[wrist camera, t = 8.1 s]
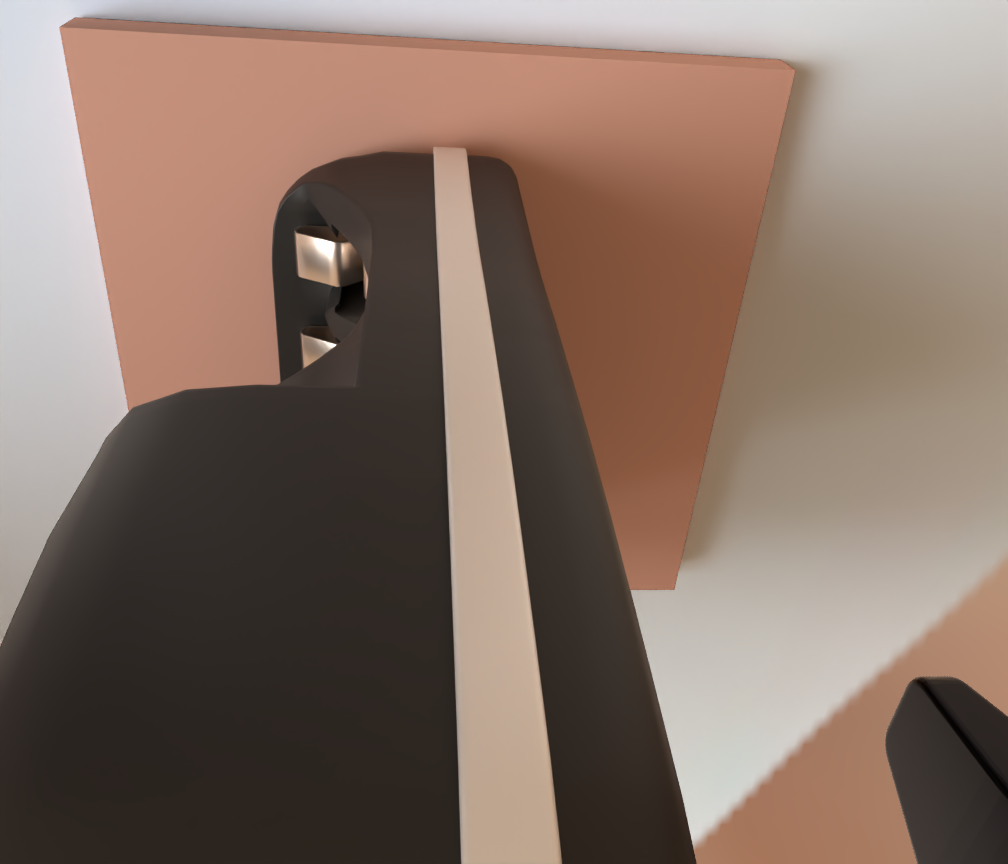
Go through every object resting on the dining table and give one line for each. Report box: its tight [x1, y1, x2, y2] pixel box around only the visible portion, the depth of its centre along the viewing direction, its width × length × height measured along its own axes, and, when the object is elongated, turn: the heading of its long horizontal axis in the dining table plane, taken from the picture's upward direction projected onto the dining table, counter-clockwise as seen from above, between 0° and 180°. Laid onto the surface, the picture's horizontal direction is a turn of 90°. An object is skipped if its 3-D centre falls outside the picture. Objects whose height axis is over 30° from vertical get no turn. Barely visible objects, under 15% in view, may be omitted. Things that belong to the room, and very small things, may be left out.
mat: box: [60, 17, 796, 590], centre depth 14 cm, size 9×9×1 cm
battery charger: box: [0, 147, 696, 864], centre depth 9 cm, size 7×4×11 cm, turn 176°
